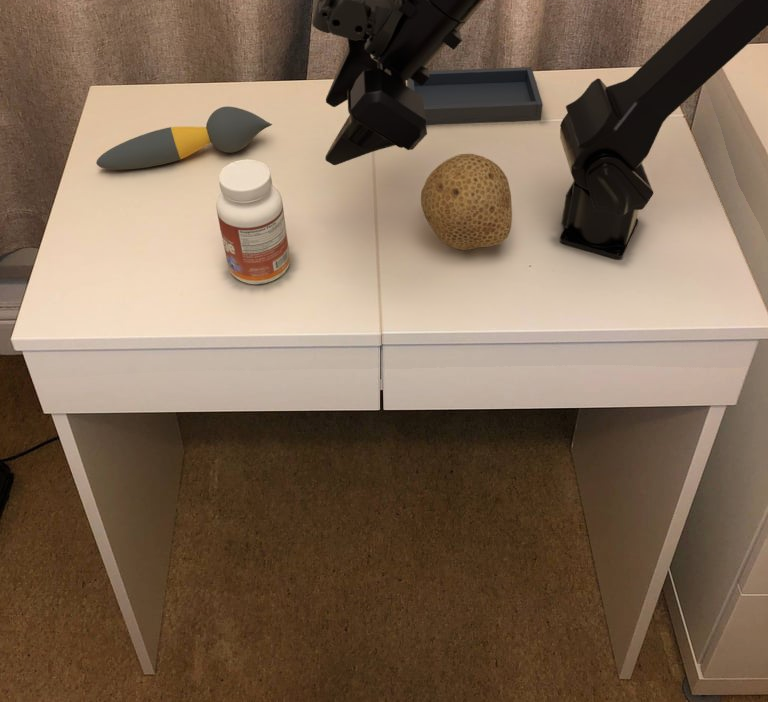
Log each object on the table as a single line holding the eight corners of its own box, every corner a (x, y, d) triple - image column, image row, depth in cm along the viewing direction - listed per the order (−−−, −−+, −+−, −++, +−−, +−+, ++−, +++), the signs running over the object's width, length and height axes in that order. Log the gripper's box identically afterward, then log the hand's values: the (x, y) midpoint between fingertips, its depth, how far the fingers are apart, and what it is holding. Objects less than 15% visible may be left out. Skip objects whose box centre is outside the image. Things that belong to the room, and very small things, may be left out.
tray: (529, 82, 109) (531, 66, 107) (540, 120, 103) (542, 104, 101) (406, 87, 108) (406, 71, 107) (411, 125, 103) (411, 109, 101)
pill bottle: (226, 249, 88) (208, 158, 80) (286, 241, 89) (274, 150, 81) (230, 291, 84) (211, 199, 76) (293, 281, 85) (281, 190, 77)
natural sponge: (423, 211, 92) (424, 130, 85) (507, 215, 91) (517, 133, 84) (417, 269, 86) (418, 187, 79) (507, 273, 85) (517, 191, 78)
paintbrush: (104, 191, 95) (92, 153, 92) (97, 166, 98) (85, 128, 95) (277, 150, 100) (273, 112, 96) (265, 128, 103) (260, 90, 99)
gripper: (357, -112, 72) (258, 31, 81) (362, -8, 60) (245, 147, 69) (457, -32, 78) (355, 94, 87) (482, 78, 65) (359, 212, 74)
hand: (329, 131), depth 79 cm, fingers open, 9 cm apart
